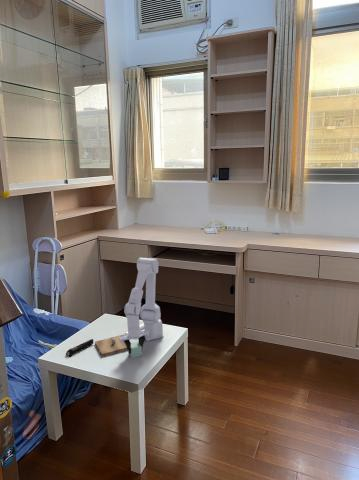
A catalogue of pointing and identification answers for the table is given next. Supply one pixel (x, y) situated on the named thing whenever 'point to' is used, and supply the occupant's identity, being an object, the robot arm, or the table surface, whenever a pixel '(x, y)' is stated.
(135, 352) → the mint green cube
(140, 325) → the marker
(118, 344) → the stub board
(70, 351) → the electric trimmer
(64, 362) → the table surface
